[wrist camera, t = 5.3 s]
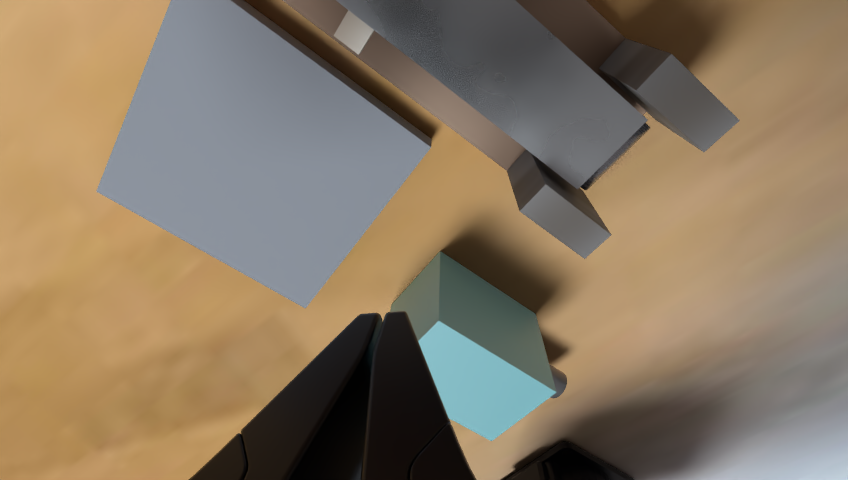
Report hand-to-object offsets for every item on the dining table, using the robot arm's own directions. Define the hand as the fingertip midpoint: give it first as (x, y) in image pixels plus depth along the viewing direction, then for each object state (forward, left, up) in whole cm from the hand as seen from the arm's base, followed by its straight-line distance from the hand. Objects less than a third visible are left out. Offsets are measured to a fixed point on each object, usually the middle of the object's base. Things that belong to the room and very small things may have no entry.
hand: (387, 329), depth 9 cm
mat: (+5, +4, -11) cm, 13 cm away
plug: (-8, +5, -11) cm, 15 cm away
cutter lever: (+2, -5, -9) cm, 10 cm away
